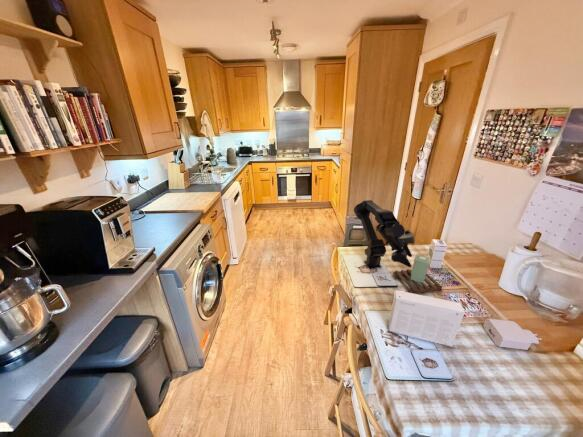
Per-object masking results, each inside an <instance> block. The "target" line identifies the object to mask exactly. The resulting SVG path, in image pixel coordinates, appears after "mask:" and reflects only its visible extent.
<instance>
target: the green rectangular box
mask: <svg viewBox="0 0 583 437" xmlns="http://www.w3.org/2000/svg"><path fill="white" fill-rule="evenodd" d="M411 267H412V268H411V270H412V271H411V276H410V277H411V280H414V281H415V282H417V283H419V282H421V283H424V284H425V281H424V280H425V278H426V273H427V274H428V269H429V257H427V256H424V255H420V254H415V256H414V259H413V264H412V266H411Z"/></svg>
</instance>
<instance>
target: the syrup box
mask: <svg viewBox="0 0 583 437" xmlns="http://www.w3.org/2000/svg"><path fill="white" fill-rule="evenodd" d="M447 248H448V244H447V243H446V242H445V240H444V239H439V238H437V239H433V238H432V239H431V241H430V246H429V250H428V253H427V256H426V257H429V266H428V268H431V269H441V268H442V265H443V263H444V262H443V261H444V258H445V255H446V251H447Z"/></svg>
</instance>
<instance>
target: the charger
mask: <svg viewBox="0 0 583 437" xmlns="http://www.w3.org/2000/svg"><path fill="white" fill-rule="evenodd" d="M483 328H484V330H485V331H486V333H487V335H489V337H490V338H491V340H492V341H493V342H494V344H495V345H496V347H500V348H507V349H516V350H522V351H523V350H525V351H528V350H529V348H530V347H531V345H532V344H536V345H539V344H540V342H539V341H542V340H543V339H542V338H540V337H537V336H538V333H533V332H532V331H531V330H529V329H524V328H522V326H520V325H519V323H517V322H515V321H513V320H505V319H495V318H486V319H485V320H484V322H483Z"/></svg>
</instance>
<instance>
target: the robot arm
mask: <svg viewBox="0 0 583 437" xmlns="http://www.w3.org/2000/svg"><path fill="white" fill-rule="evenodd" d="M353 212H354V214H355V216H356V218H358V219H359V220H360V221H361V225H362V227H363V230H364V233H365V236H366V238H367V240H368V243H367V248H365V249H364V254H365V256H366V258H365V260H364V263H365V265H366V266H367V267H368V268H369V269H377V268H381V267H382V266H381V265H380V264H381V261H382V258H383V257H384V256H385V254H386V252H387V247H386V245H388V246H389V247H390V250H391V251H392V253H391V261H392V262H394V263H399V264H402V265H404V266H405V267H408V268H411V267H412V264H411V262H410V260H409V258H412V257H413V255H412V252H411V250H410V248H409V246H408V245H410V244H412V245H413V244H415V241H416V240H415V235H414V233H413V232H412V231H411V230H410V229H405V227H404V225H402V224H401V223H400V221H398V219H397V218H396V216H395V214H394V213H393V211H392V210H389V209H385V208H382V207H381V206H379V205H378V204H377V203H375V202H374V201H373V200H372V199H364V200H362V202H359V203H358V204H356V205H354V208H353ZM371 214H372V215H373V216H374V220H375V221H376V222H377V225H376V227H375V228H374V225H373V222H372V220H371V218H370V215H371ZM376 232H378V233H379V235H380V236H381V237H382V238H383V239H384V240H385V243H384V240H383V239H382V238H380V239H379V238H378V235H377V233H376ZM408 257H409V258H408Z"/></svg>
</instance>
